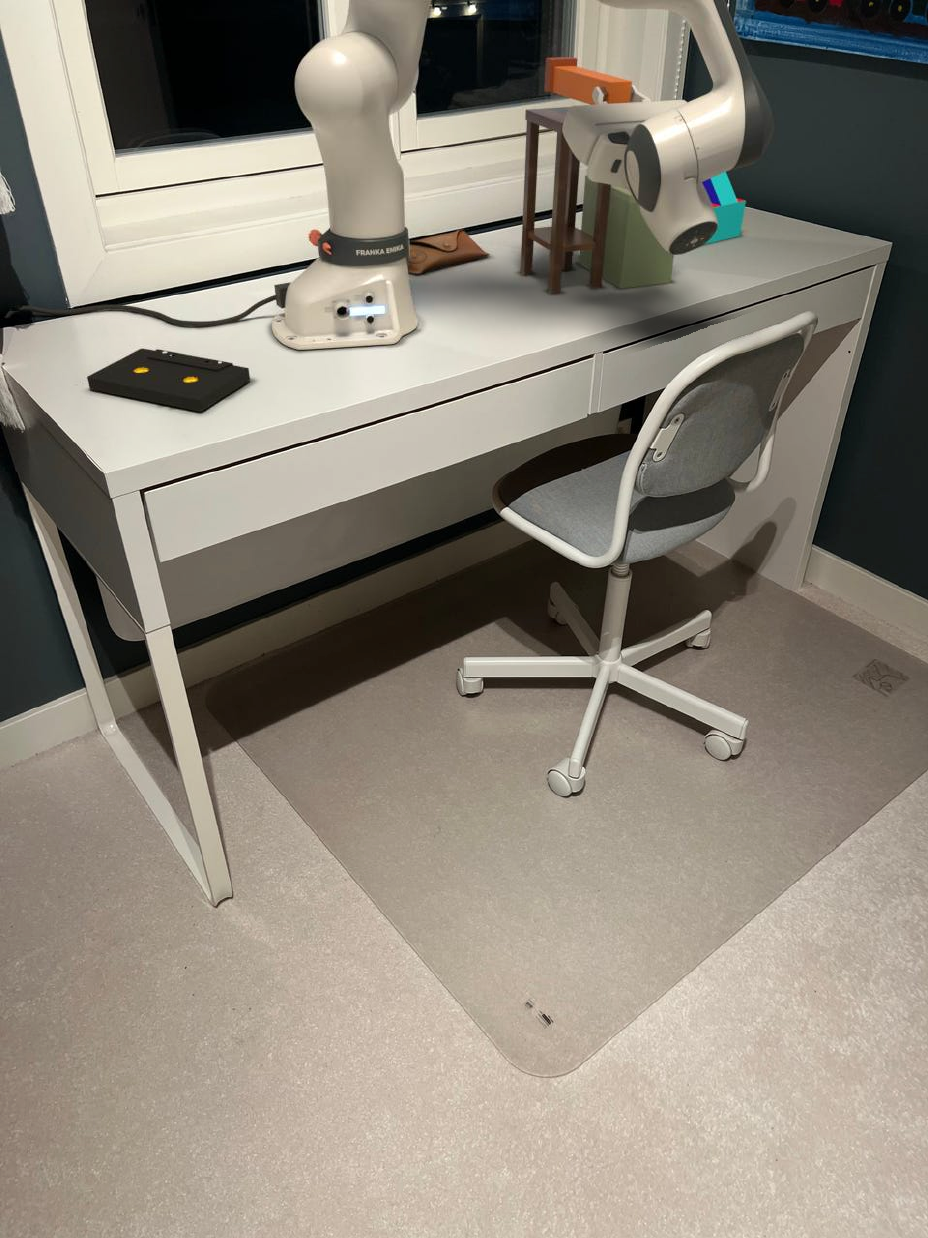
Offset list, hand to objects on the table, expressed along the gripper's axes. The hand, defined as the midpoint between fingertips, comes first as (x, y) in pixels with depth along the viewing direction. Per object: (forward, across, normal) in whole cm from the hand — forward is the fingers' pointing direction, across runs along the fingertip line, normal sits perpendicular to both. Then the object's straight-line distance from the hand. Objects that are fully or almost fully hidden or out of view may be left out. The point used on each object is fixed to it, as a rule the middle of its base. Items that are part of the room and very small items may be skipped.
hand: (612, 89), depth 139 cm
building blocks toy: (+14, -35, +44) cm, 58 cm away
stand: (-5, 0, +33) cm, 33 cm away
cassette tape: (-24, +70, +22) cm, 77 cm away
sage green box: (-5, -13, +33) cm, 35 cm away
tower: (+6, 0, +6) cm, 8 cm away
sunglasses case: (+10, +15, +42) cm, 46 cm away
